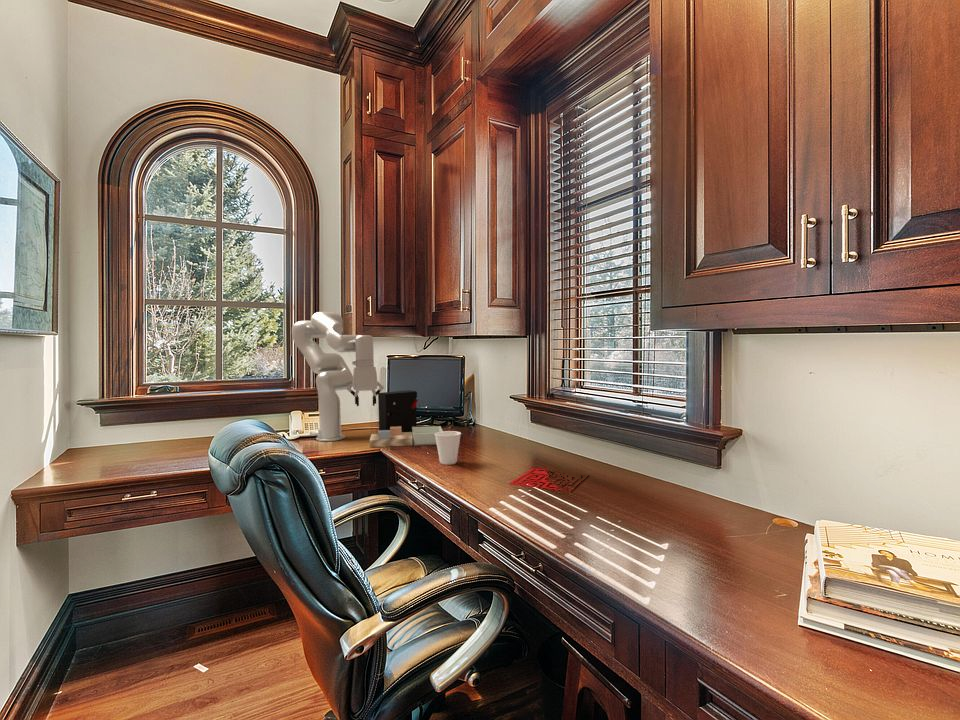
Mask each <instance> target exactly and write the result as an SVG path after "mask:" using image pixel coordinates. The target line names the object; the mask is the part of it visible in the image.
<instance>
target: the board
mask: <svg viewBox="0 0 960 720" xmlns="http://www.w3.org/2000/svg"><path fill="white" fill-rule="evenodd" d="M403 446H409V447H410V446H414V444H413V437H412V432H402V435H390V439H379V440H378V433H371V435H370V438H369V448H383V447H385V448H386V447H403Z"/></svg>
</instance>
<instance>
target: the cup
mask: <svg viewBox="0 0 960 720" xmlns="http://www.w3.org/2000/svg"><path fill="white" fill-rule="evenodd" d="M434 435H435V438H436V443H437V445H436V448H437V453H438V460H439V463H440V464H441V465H444V466H445V465H446V466H448V465H449V466H450V465H455V464H456V463H457V462H458V454H459V448H460V441H461V435H462V433H461V431H456V430H455V431H454V430H443V431H441V432H437V433H435V434H434Z"/></svg>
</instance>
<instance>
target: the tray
mask: <svg viewBox="0 0 960 720" xmlns="http://www.w3.org/2000/svg"><path fill="white" fill-rule="evenodd" d="M441 431H444V430H443V428H442V426H441V425H437V426H434V425H433V426H417V427H412V432H411V433H412V443H413V446H416V447H417V446H433V445H435V446H437V443H436V438H435V435H434V434H435V433H437V432H441Z"/></svg>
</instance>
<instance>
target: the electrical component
mask: <svg viewBox="0 0 960 720" xmlns="http://www.w3.org/2000/svg"><path fill="white" fill-rule="evenodd" d="M377 396H378V397H377V399H378V401H377V402H378V431H379V430H390V427H399V426H401V429H402V432H411V433H412V427H418V423H417V422H418V421H417V416H418V415H417V412H418V411H417V404H418V401H419V399H417V398H418V392H417V390H412V389H410V390H408V389H407V390H395V391H386V392H385V391H384V392H380V393H379V394H378V395H377Z"/></svg>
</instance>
